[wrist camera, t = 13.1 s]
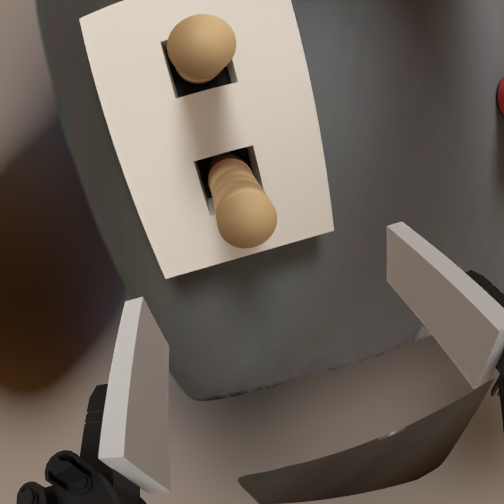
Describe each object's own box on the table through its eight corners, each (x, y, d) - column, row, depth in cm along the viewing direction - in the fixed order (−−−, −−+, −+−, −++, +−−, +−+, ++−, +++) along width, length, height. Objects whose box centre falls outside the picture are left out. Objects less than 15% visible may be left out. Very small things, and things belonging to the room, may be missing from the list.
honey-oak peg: (239, 144, 29) (272, 183, 17) (248, 180, 30) (284, 240, 19) (201, 154, 28) (207, 201, 17) (212, 190, 30) (224, 257, 19)
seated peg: (213, 42, 24) (229, 5, 12) (223, 79, 25) (245, 68, 14) (173, 53, 23) (157, 23, 12) (183, 89, 25) (174, 86, 14)
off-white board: (268, -18, 21) (281, -33, 17) (317, 212, 33) (334, 230, 29) (95, 27, 21) (79, 18, 17) (168, 255, 33) (165, 278, 29)
